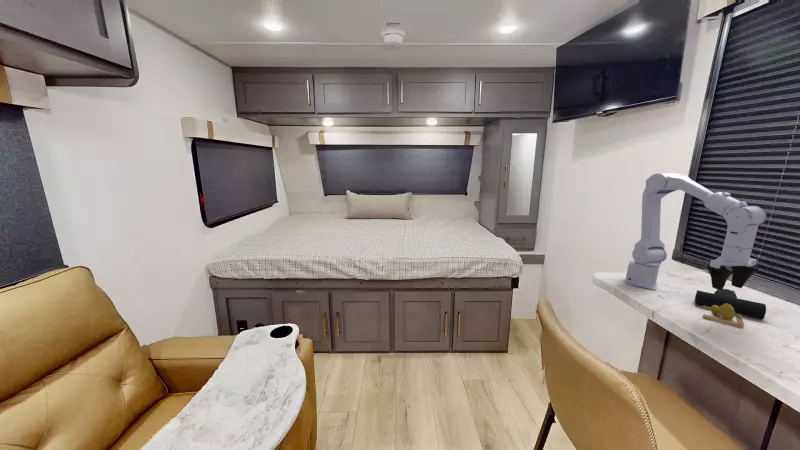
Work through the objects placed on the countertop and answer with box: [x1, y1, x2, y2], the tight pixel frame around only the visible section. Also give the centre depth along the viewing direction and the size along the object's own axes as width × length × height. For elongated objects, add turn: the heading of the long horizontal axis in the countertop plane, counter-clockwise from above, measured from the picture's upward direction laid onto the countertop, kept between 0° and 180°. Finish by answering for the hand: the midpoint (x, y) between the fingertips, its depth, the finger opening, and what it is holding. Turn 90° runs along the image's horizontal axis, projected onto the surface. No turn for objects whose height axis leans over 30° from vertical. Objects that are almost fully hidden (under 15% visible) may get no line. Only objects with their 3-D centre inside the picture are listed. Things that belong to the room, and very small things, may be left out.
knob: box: [710, 304, 735, 321], centre depth 93 cm, size 5×5×5 cm
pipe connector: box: [694, 288, 767, 320], centre depth 99 cm, size 12×5×15 cm
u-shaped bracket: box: [702, 305, 745, 329], centre depth 93 cm, size 8×10×1 cm
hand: (726, 287), depth 91 cm, fingers open, 7 cm apart
